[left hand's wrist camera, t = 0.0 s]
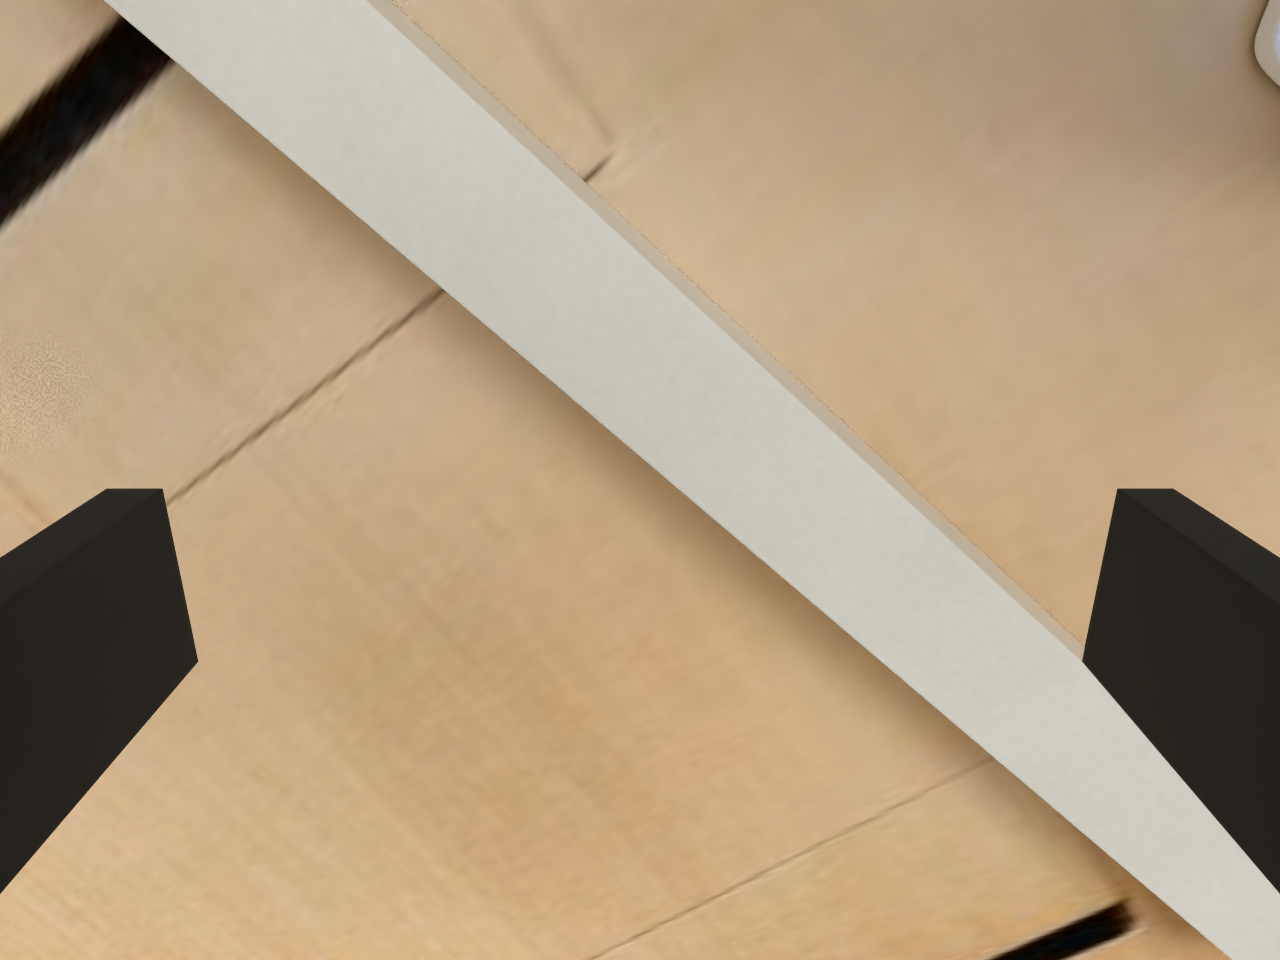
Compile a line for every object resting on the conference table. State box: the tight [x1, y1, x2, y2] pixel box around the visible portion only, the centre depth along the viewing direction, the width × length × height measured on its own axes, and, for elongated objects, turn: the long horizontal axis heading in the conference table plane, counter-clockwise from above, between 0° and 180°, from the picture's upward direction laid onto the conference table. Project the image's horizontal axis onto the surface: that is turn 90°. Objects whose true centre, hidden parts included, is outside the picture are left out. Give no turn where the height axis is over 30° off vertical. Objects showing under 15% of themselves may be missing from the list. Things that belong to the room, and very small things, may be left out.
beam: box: [104, 0, 1280, 960], centre depth 38 cm, size 83×6×7 cm, turn 48°
